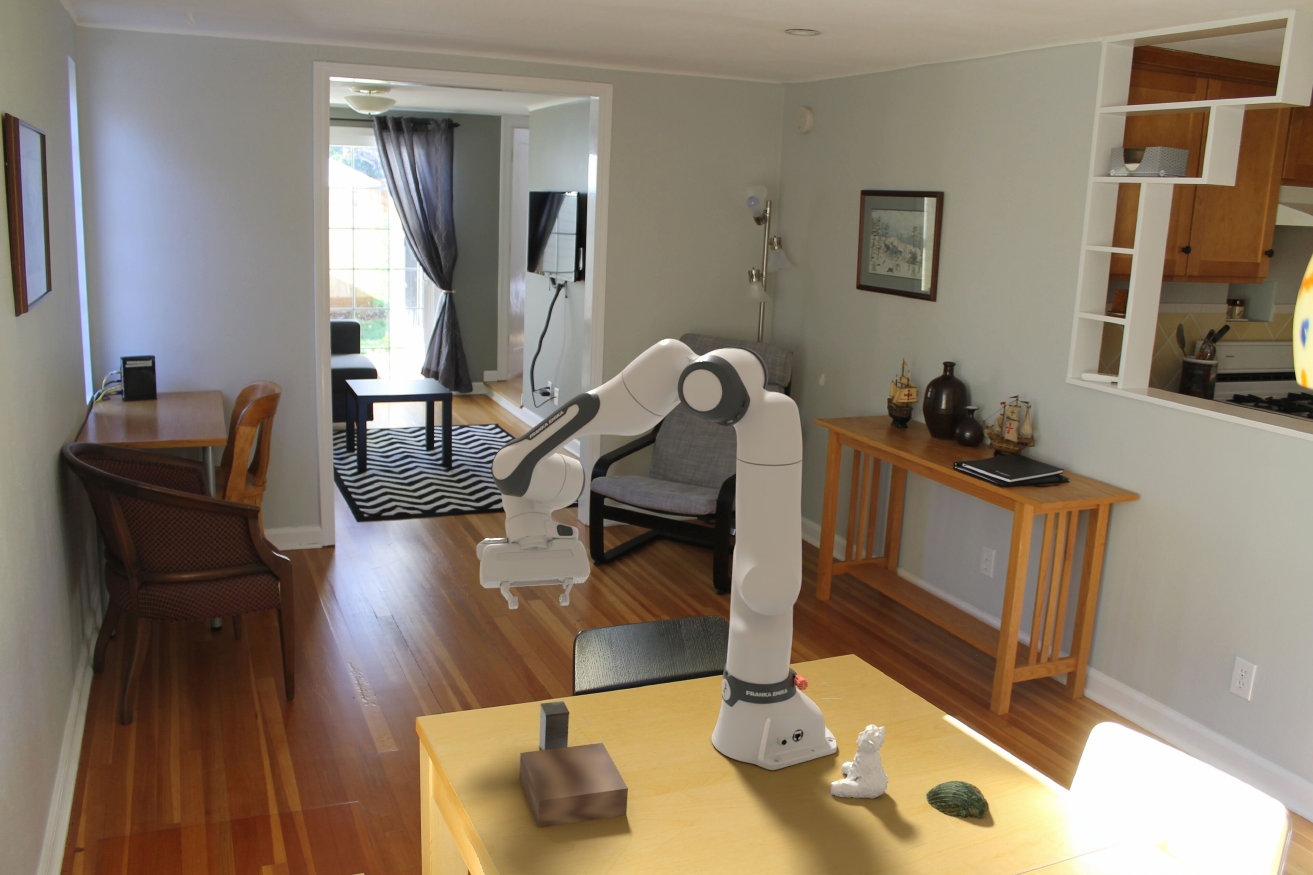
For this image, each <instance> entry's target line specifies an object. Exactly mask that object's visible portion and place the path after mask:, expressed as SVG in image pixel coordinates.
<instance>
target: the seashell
mask: <svg viewBox="0 0 1313 875" xmlns="http://www.w3.org/2000/svg"><path fill="white" fill-rule="evenodd" d="M925 795H926V800H927V802H928V804H929V805H930V806H931V807H932V808H933V809H936V810H937V811H938V812H939V813H942V814H944V815H946V816H949V817H955V818H961V819H962V818H963V819H966V818H975V819H976V818H978V819H984V818H985V816H986V813H987V810H988V806H989V805H988V804H989V803H988V801H987V799H986V798H985V795H984V794H983V793H982V791H981V790H980V789H979V788H978V787H977V786H976V785H973V784H971V783H969V782H967V781H962V780H951V781H946V782H942V783H939V784H937V785H936V786H934V787H932V788H931V789H930V790H929V791H928V792H926V794H925Z"/></svg>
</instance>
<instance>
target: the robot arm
mask: <svg viewBox="0 0 1313 875" xmlns="http://www.w3.org/2000/svg"><path fill="white" fill-rule="evenodd" d="M768 382H769V370H768V366H767V364H766V362H765V360H764V359H763V357H762V356H761V355H760V354H759V353H757V352H756V351H755V350H753V349H751V348H747V347H744V346H743V347H742V346H730V347H724V348H719V349H718V348H717V349H714V350H710V351H707V352H706V353H705V354H703V355H698V354H697V353H695V352H694V350H692V348H691V347H690V346H688V345H687V344H686V343H684V342H683V341H680V340H679V339H674V338H665V339H661V340H659V341H658V342H656V343H655V344H653V345H652V346H650V347H649V348H648V349H646V350H645V351H643V352H642V353H641V354H639V355H638V356H637V357H636V358H634V360H632V361H631V362H630V363H629V364H628V365H627V366H625V368H624V369H623V370H621V372H620V373H618V374H616V376H614V377H613V378H611V379H610V380H608V381H606V382H605V383H603V384H602V385H599V386H598V387H595V388H594V389H591V390H588V391H585V392H581V393H579V394H578V395H575V396H574V397H572V398H571V399H570V400H568V401H566V402H565V403H564V404H563V405H561V406H559V407H558V408H557V409H556V410H554V411H553V412H552V413H551V414H550V415H548V416H547V417H545V418H544V419H543V420H542V421H540V422H539V423H537V424H535V426H534V427H532V428H531V429H530V430H528V431H527V432H526V433H524V434H523V435H521V436H519V437H517V438H514V439H511V440H510V441H508V442H507V443H505V444H504V445H503V446H501V447H500V448H499V449H498V451H497V452H495V455H494V457H493V458H492V462H491V467H490V470H491V472H490V473H491V476H492V480H493V482H494V484H495V486H496V488H497V489H498V490H499V492H500V493H501V500H502V507H503V510H504V512H505V521H504V526H505V533H506V537H502V538H501V537H499V538H484V539H482V541H480V542H478V543H477V545H476V546H475V547H476V548H475V554H476V558H477V559H478V561H480V562H479V563H480V565H479V584H480V585H481V586H482V587H483V588H484V589H498V588H499V589H500V594H501V595H502V596H503V597H504V598H505V600H506V601H507V603H508V609H509V610H514V609H518V608H519V597H518V596H513V594H512V593H511V591H510V588H512V587H513V588H514V587H515V588H517V587H535V586H550V585H551V586H553V585H562V589H564V590H565V592H564V593H560V595H559V597H558V599H559V600H558V601H559V606H560V607H562V606H564V607H565V606H569V604H570V600H571V599H570V592H571V590H572V588H573V586H574V584H583V583H585V582H586V580H588V578H589V576H590V574H591V567H590V561H589V557H588V554H587V551H586V548H585V546H584V544H583V543H582V541H580V540H579V534H580V532H579V529H578V527H576V526H572V525H569V524H564V523H562V522H561V523H560V522H557V521H555V520H553V519H552V513H553V512H554V511H560V510H563V509H565V508H568V507H569V506H571V505H573V504H574V503H576V502H577V501H578V500H579V499H580V498H581V497H582V495H583V493H584V491H585V488H586V487H585V486H586V472H585V468H584V467H583V464H582V463H581V461H579V460H578V459H576V458H573V457H571V456H568V455H566V454H562V453H559V451H560V450H561V449H563V448H564V447H565V446H566V445H568V444H569V443H571V442H572V441H574V440H576V439H579V438H581V437H586V436H592V435H594V436H595V435H612V436H625V437H632V436H638V435H642V434H643V433H645V432H647V431H649V430H651V429H653V428H654V427H655V426H657V425H658V424H659V423H660V422H661V421H662V420H663V419H664V418H665V417H667V415H668V414H670V412H672V411H673V410H674V409H675V408H676V407H677V406H678V405H679V404H681V405H682V406H683V408H684V409H685V410H686V411H687V412H688V413H690V414H692V415H693V416H695V417H697V418H700V419H703V420H706V421H710V422H713V423H715V424H717V425H719V426H722V427H724V428H730V427H732V426H733V427H734V429H735V433H736V466H735V467H736V470H735V473H736V475H735V477H736V478H735V544H734V549H733V555H732V557H733V558H732V573H731V574H732V575H731V590H730V591H731V592H730V608H729V627H728V628H729V629H728V641H727V642H728V644H727V656H726V663H725V665H724V666H723V675H722V682H721V698H722V700H721V705H720V710H719V714H718V718H717V721H716V724H715V728H714V729H713V732H712V734H711V743H712V745H713V746H714V747H715V749H716V750H717V751H719V752H720V753H721V754H723V755H725V756H726V757H729V758H731V759H733V760H736V761H739V762H743V763H747V764H753V765H757V766H758V767H761V768H763V769H766V770H770V771H775V770H779V769H783V768H787V767H789V766H793V765H797V764H801V763H805V762H808V761H811V760H815V759H818V758H822V757H825V756H830V755H832V754H835V753H837V751H838V750H837V749H838V747H837V746H838V744H837V740H836V738H835V736H834V735H833V733H832V731H831V730H829V728H828V727H827V726H826V722H825V718H824V715H823V712H822V711H821V709H820V707H819V706H818V705H817V704H816V703H815V701H813V700H812V699H811V698H810V697H809V696H807V695H806V694H805V693H803V691H804V690H806V689H807V688H808V687H809V681H808V680H807V679H806V678H804V676H803V675H798V673H797V672H796V671H795V669H793V668H791V667H790V665H791V664H790V663H791V654H792V645H793V644H792V642H793V633H794V632H793V630H794V627H793V626H794V625H793V622H794V621H793V620H794V619H793V618H794V617H793V616H794V615H793V614H794V605H795V603H796V602H797V600H798V597H799V594H800V591H801V587H802V581H803V578H802V577H803V572H802V571H803V555H802V554H803V549H802V548H803V546H802V544H803V543H802V540H803V538H802V480H803V479H802V478H803V474H802V473H803V435H802V426H801V425H802V424H801V419H800V418H801V417H800V411H799V410H800V409H799V407H798V405H797V403H796V401H795V400H794V399H792V398H791V397H790V396H788V395H786V394H784V393H781V392H777V391H769V390H767V386H768Z"/></svg>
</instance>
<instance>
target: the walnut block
mask: <svg viewBox="0 0 1313 875" xmlns="http://www.w3.org/2000/svg"><path fill="white" fill-rule="evenodd" d="M519 754H520V755H519V760H520V761H519V780H520V783H521V787H522V789H523V791H524V794H525V797H526V799H527V801H528V804H529V806H530V809H531V812H532V815H533V817H534V820H535V823H536V825H537V828H538V829H540V828H546V827H552V826H560V825H561V826H562V825H567V824H574V823H579V822H580V823H581V822H586V821H592V820H599V819H600V820H601V819H606V818H607V819H608V818H613V817H620V816H626V815H627V811H628V809H627V808H628V790H629V788H628V786H627V784H626V783H625V780H624V778H623V777H622V775H621V773H620V771H619V769H618V768H617V766H616V764H615V762H614V761H613V758H612V756H610V753H609V752H608V750H607V748H606V746H605V744H604V743H603V742H599V743H590V744H582V745H581V744H580V745H573V746H567V747H564V748H556V749H548V750H541V749H540V750H533V751H527V752H520V753H519Z"/></svg>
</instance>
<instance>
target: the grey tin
mask: <svg viewBox="0 0 1313 875" xmlns="http://www.w3.org/2000/svg"><path fill="white" fill-rule="evenodd" d="M539 706H540V713H539V714H540V719H539V743H538V744H539V746H538V747H539V749H540V748H541V749H540V750H548V749H556V748H564V747H569V746H568V743H569V721H570V720H569V719H570V711H569V709H568V707H567V705H566V703H565V701H564V700H561V701H553V702H543V703H540V704H539Z"/></svg>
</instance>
